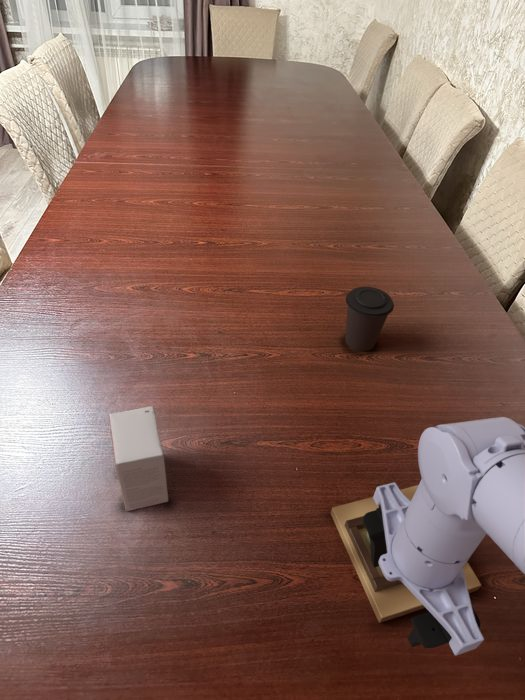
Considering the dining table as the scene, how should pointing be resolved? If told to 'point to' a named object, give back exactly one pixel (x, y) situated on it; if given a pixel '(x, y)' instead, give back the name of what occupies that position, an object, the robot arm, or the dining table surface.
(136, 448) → the small box
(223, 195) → the dining table surface
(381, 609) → the wooden base with frame
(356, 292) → the coffee cup
